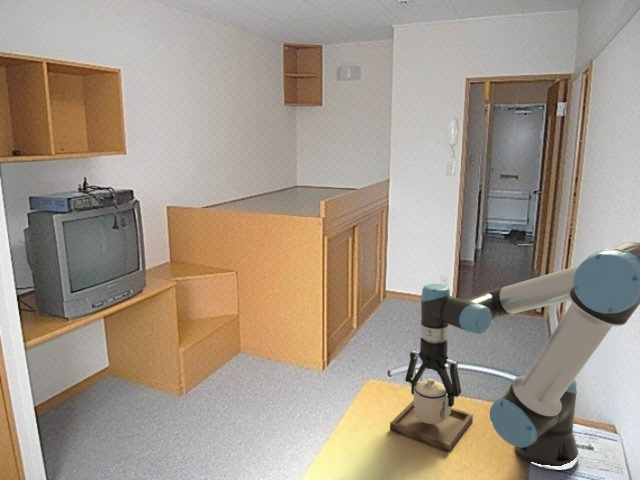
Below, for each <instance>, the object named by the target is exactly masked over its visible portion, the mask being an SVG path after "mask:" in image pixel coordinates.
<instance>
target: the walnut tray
mask: <svg viewBox="0 0 640 480" xmlns="http://www.w3.org/2000/svg"><path fill="white" fill-rule="evenodd" d="M473 417H474V414H473V413H470V412H467V411H465V410H461V409H458V408H454V407H451V414H450V415H449V416H448V417H447V418H446V417H445V419H444V420H443V421H442V422H440V423H437V424H428V423H424V422H422V421H420V420H418V419H417V418H416V416H415V407H414V399H413V400H412V401H411V402H410V403H409V404H408V405H407V406H406V407H405V408H404V409H403V410H402V411H401V412H400V413H398V415H396V417H395V418H394V419H393V420H392V421H390V423H389V431H390V432H391V433H395V434H397V435H400V436H402V437H405V438H407V439H411V440H414V441H415V442H419V443H421V444H423V445H426V446H429V447H432V448H435V449H437V450H439V451H442V452H444V453H448V454H450V453H451V451H452V450H453V449H454V447H455V446H456V445H457V443H458V442H460V439H461V438H462V436H463V435H464V434H465V433H466V431H467V430H468V429H469V427H470V426H471V424H473V420H474V419H473Z"/></svg>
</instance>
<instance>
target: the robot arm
mask: <svg viewBox="0 0 640 480" xmlns="http://www.w3.org/2000/svg"><path fill="white" fill-rule="evenodd" d="M420 299H421V300H420V303H421V304H420V307H421V309H420V310H421V319H420V337H421V338H420V348H419V349H420V351H417V349H413V350H411V352H409V359H410V361H409V364H408V367H407V372H406V375H405V382H406V383H409V384H411V387H410V388H411V389H410V391H411V392H410V393H411V395H413V400H414V407H415V386H416V384H417V383H418V382H420V379H421V378H422V377H423V374H424V373H425V371H426V370H433V371H435V372H436V373H437V375H439V378H440V379H441V382H442V384H443V385H444V387H445V390H446V392H447V394H446V396H445V415H444V417H446V418H447V417H448V416H449V415H450V414H451V408H453V406H454V405H455V398H458V397H459V396H460V395H461V394H462V388H461V381H460V377H459V371H458V364H459V361H458V360H456V359H455V360H452V359H449V357H448V346H449V345H448V342H449V341H448V338H449V325H450V326H453V327H455V328H458V329H461V330H463V331H466V332H468V333H473V334H477V335H482V334H484V333H486V332H487V329H489V328H490V326H491V323H492V321H493V320H495V319H498V318H502V317H505V316H510V315H513V314H518V313H521V312H526V311H530V310H535V309H539V308H543V307H548V306H552V305H556V304H557V305H558V304H561V303H566V302H571V304H570V306H569V307H568V308H567V310H566V312H565V314H564V315H563V317H562V318H561V320H560V321H559V323H558V324H557V326H556V327H555V329H554V330H553V332H552V334H551V335H550V337H549V338H548V340H547V342H546V343H545V344H544V346H543V347H542V349H541V351H540V352H539V354H538V355H537V357H536V358H535V360H534V362H533V363H532V365H531V366H530V367H529V369H528V370H527V372H526V374H525V375H519V376H517V377H515V379H513V381H512V382H511V384H510V386H509V387H508V389H507V391H506V392H505V394H504V395H503V396H502V397H501V398H498V399H496V400H495V401H494V403H492V404H491V406H490V408H489V420H490V421H491V423H492V427H493V429H494V430H495V432H496V433H497V434H498V435H499V437H501V439H502V440H503V441H504V442H506V443H507V444H509V445H511V446H514V447H515V450H516V452H517V454H518V455H519V457H521V458H522V459H523V460H524V461H526V462H527V463H529V462H534V463H537V464H541V465H550V466H562V465H564V464H567V463H570V462H571V461H573V460H574V459H575V458H576V457H577V455H578V456H579V449H578V445H577V442H576V438H575V436H574V431H573V430H574V420H575V411H576V400H577V394H578V391H577V382H576V381H577V380H576V378H577V376H578V375H579V373H580V372H581V371H582V369H583V368H584V367H585V365H586V363H587V362H589V360H590V358H591V357H592V355H593V354H594V353H595V351H596V350H597V349H598V347H599V346H600V345H601V343H602V342H603V340H604V339H605V337H607V335H608V333H609V332H610V331H611V329H612V328H613V327H621V326H624V325H625V324H626V323H627V322H628V320H629V319H630V318H631V317H632V315H633V314H634V312H636V310H637V308H638V307H639V306H640V242H638V241H629V242H625V243H621V244H617V245H615V246H613V247H611V248H606V249H602V250H600V251H596V252H594V253H593V254H590V255H589V256H588V257H587V258H585V259H583V261H582V262H581V263H580V264H578V265H575V266H572V267H569V268H565V269H561V270H558V271H555V272H552V273H548V274H545V275H540V276H537V277H534V278H531V279H527V280H523V281H519V282H517V283H513V284H510V285H506V286H503V287H500V288H494V289H491V290H488V291H487V292H483V293H481V294H479V295H475V296H472V297H470V298H467V299H462V298H457V297H455V296H451V293H450V288H449V287H448V286H447V285H445V284H443V283H429V284H426V285H424V286H423V287H422V292H421V298H420ZM418 359H420V360H421V362H422V363H421V365H420V366H419V368H418V370H417V372H416V373H415V371H416V366H417V362H418ZM446 364H447V366H448V369H449V374H450V375H449V374H448V372H447V367H446ZM414 374H415V375H414ZM413 376H414V377H413ZM449 376H450V377H449Z"/></svg>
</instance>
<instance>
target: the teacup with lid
mask: <svg viewBox="0 0 640 480" xmlns="http://www.w3.org/2000/svg"><path fill="white" fill-rule="evenodd" d="M446 395H447V392H446V390H445V387H444V385H443V382H442V383H441V382H439V381H436V380H435V379H434V378H431V377H430V378H429V377H428V379H425V380H421V381H420V380H419V381H418V382H417V384H416V386H415V416H416V418H417V419H418V420H420V421H422V422H424V423H428V424H437V423H440V422H442V421H443V420H444V419H445V417H444V415H445V396H446Z"/></svg>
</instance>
